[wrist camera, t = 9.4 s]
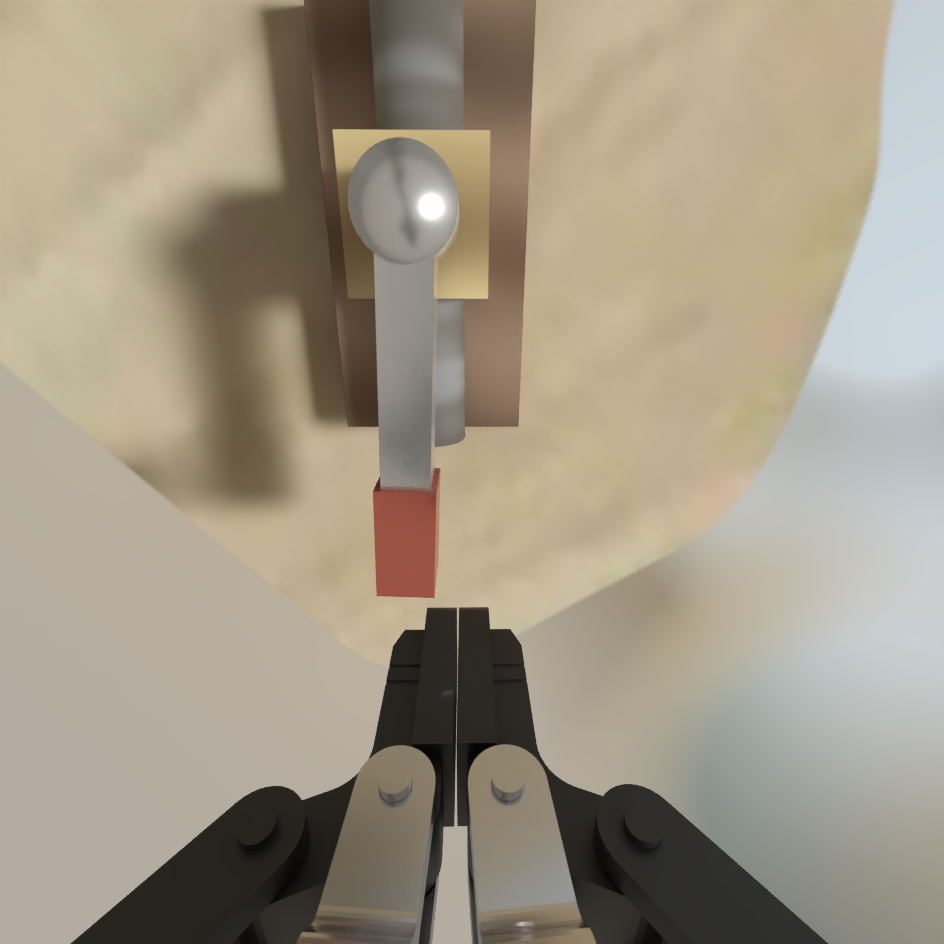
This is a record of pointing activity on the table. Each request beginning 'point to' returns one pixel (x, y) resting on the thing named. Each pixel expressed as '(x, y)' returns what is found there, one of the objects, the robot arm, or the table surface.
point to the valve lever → (405, 347)
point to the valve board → (507, 191)
